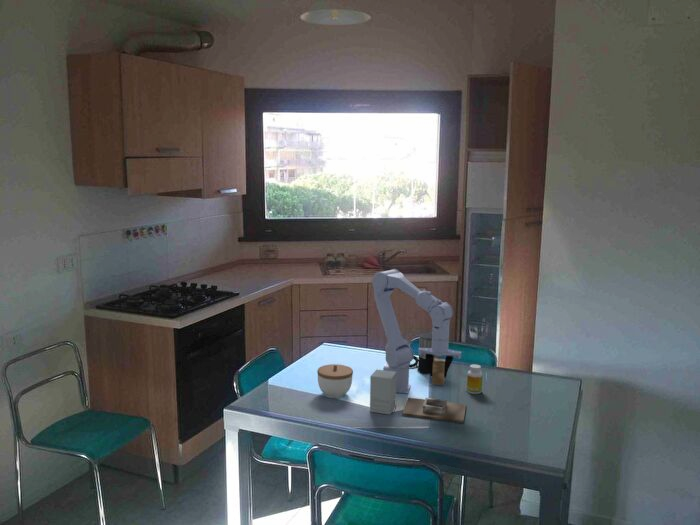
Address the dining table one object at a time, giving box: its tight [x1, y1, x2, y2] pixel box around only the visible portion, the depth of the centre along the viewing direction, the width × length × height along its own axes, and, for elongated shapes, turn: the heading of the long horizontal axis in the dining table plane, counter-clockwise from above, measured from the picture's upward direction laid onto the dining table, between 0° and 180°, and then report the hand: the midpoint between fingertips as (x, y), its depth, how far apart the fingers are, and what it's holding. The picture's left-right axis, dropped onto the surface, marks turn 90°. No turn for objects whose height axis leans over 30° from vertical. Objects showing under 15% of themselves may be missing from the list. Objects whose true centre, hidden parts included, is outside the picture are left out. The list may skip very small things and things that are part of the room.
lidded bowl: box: [316, 363, 354, 399], centre depth 216 cm, size 13×13×11 cm
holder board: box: [401, 397, 467, 424], centre depth 205 cm, size 20×14×3 cm
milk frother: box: [409, 331, 441, 375], centre depth 245 cm, size 14×16×15 cm
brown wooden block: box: [431, 358, 446, 386], centre depth 211 cm, size 4×4×8 cm
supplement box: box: [369, 369, 397, 415], centre depth 204 cm, size 7×7×13 cm
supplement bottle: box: [466, 364, 483, 395], centre depth 222 cm, size 5×5×10 cm
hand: (438, 376), depth 211 cm, fingers closed on brown wooden block, 4 cm apart
